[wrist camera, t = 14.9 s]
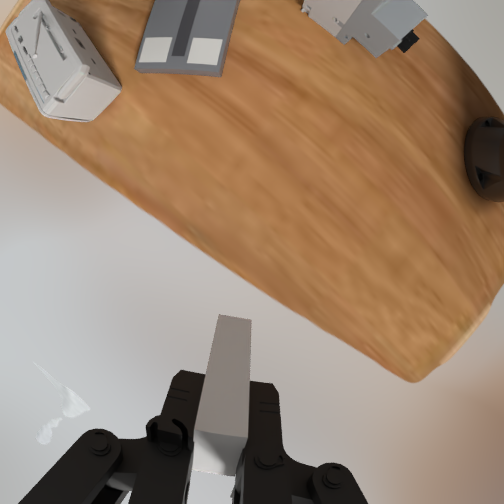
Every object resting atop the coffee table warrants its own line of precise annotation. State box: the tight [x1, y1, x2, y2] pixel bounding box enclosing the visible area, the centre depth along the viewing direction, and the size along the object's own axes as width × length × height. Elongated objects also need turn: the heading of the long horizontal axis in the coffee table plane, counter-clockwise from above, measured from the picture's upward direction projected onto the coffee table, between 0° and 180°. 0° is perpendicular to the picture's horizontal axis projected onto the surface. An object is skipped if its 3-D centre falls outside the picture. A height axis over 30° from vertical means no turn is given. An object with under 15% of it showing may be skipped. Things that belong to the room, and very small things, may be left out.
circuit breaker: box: [301, 0, 428, 58], centre depth 24 cm, size 8×14×15 cm, turn 48°
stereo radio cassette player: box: [6, 0, 122, 122], centre depth 23 cm, size 21×8×20 cm, turn 34°
